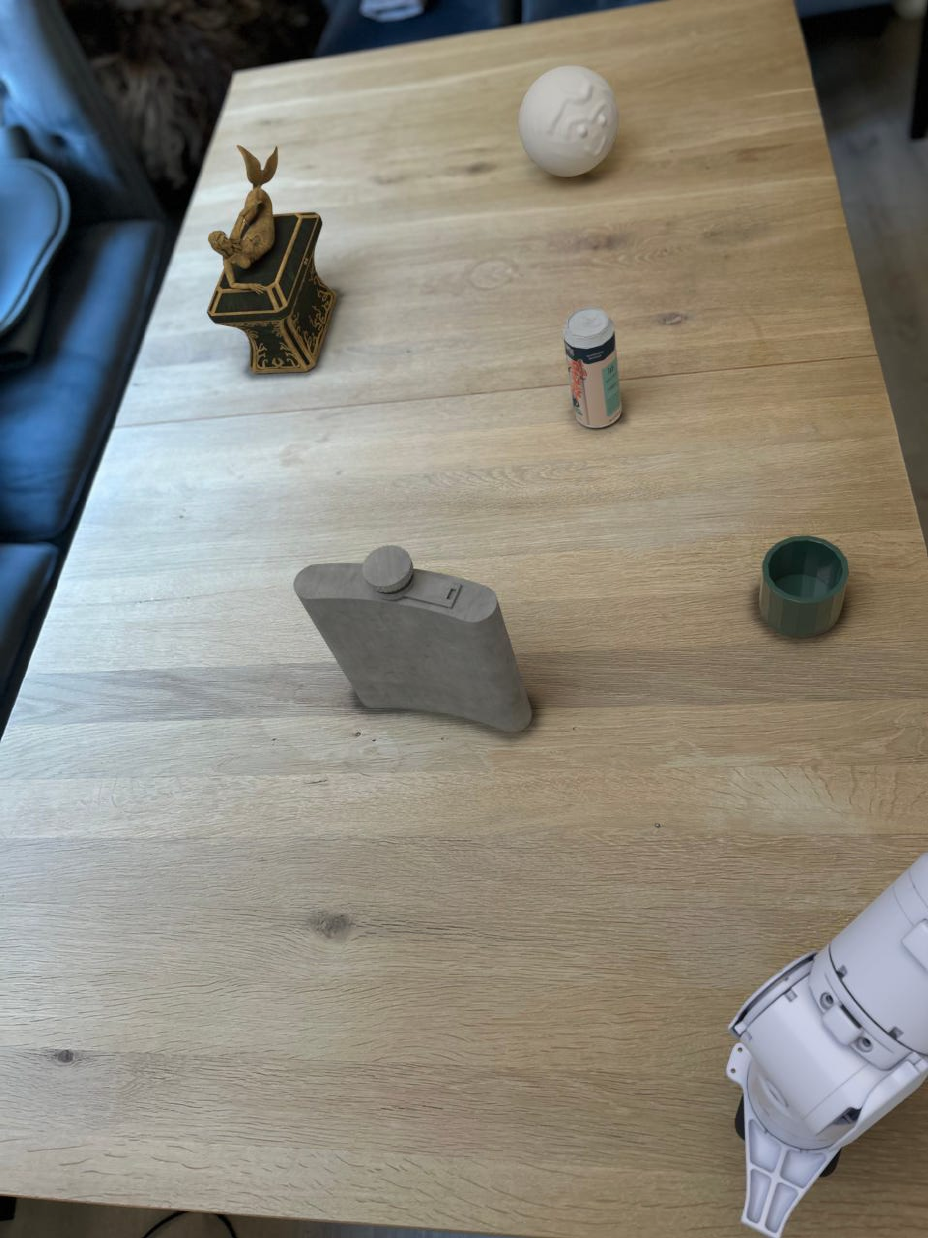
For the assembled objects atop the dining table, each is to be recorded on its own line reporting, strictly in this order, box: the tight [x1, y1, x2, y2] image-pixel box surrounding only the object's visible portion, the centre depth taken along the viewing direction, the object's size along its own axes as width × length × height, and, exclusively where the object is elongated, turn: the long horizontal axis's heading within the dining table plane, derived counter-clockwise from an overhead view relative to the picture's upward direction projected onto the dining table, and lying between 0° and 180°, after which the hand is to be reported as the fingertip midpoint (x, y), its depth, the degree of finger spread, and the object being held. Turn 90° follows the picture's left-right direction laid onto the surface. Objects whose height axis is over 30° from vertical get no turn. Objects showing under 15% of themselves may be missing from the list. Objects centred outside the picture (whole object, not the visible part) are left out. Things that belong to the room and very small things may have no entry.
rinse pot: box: [758, 535, 850, 639], centre depth 82 cm, size 7×7×6 cm
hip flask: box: [292, 544, 533, 734], centre depth 78 cm, size 16×4×20 cm, turn 73°
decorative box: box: [206, 144, 338, 374], centre depth 110 cm, size 20×10×20 cm, turn 171°
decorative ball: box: [517, 64, 620, 178], centre depth 119 cm, size 12×12×12 cm
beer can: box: [562, 306, 623, 429], centre depth 96 cm, size 5×5×12 cm
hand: (789, 1111), depth 61 cm, fingers closed
